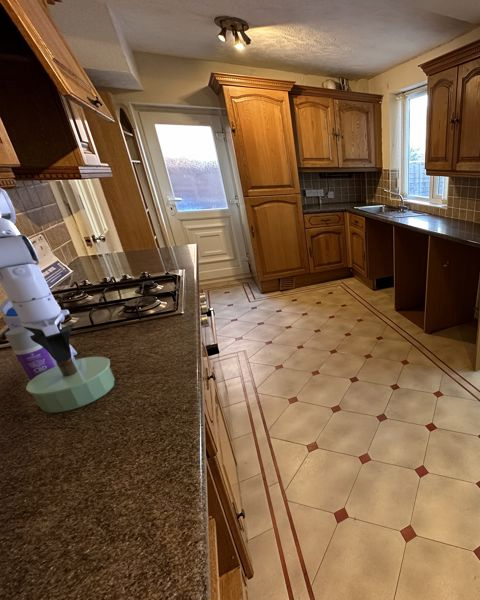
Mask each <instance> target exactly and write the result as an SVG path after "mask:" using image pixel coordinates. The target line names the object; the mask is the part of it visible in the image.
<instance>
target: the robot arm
mask: <svg viewBox="0 0 480 600" xmlns="http://www.w3.org/2000/svg"><path fill="white" fill-rule="evenodd" d="M16 220H17V217H16V210H15V207H14V205H13V202H12V201H11V198H10V197H9V194H8V192H7V191H6V190H5V189H4V188H1V187H0V285H1V286H2V288H3V290H4V293H5V294H6V296H7V298H6V299H5V300H4V301H2V302H1V303H0V313H1V316H2V318H3V320H4V322H5V323H6V321H5V317H4V315H5V314H6V313H7V311H8V309H10V308H11V307H12V306H13V307H14V309H15V311H16V313H17V315H18V316H19V318H20V320H21V321H20V323H21V325H22V326H24V328H26V329H27V330H29V331H31V332H32V333H33V334H35V335H32V336H30V337H31V339H32V341H34V342H35V343H37V344H39V345H41V346H42V347H43V348H45V349H46V350H47V351H48V352H49V354H50V355H51V356H52V357H53V358H54V360H55V361H57V362H58V363H60V362H63V361H66V360H69V359H71V352H72V354H73V356H76V355H78V352H77V350H75V348H73V346H72V345H71V344H70V336H71V333H72V328H71V327H70V326H67V327H63V328H62V323H64V321H65V316H68V315H70V311H69V310H68V309H61V307H60V305H59V304H58V302H57V300H56V299H55V297H54V295H53V293H52V290H51V289H50V286H49V285H48V282H47V281H46V279H45V276H44V273H43V272H42V270H41V268H40V265H39V264H40V258H39V255H38V252H37V250H36V249H35V246H34V244H33V243H32V241H31V240H30V238H28V236H27V235H26V234H24V233H20V231H19V230H18V228H17V227H16V225H15V224H16V222H17V221H16ZM6 325H7V323H6ZM7 327H8V329H9V330H10V328H9V326H8V325H7Z"/></svg>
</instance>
